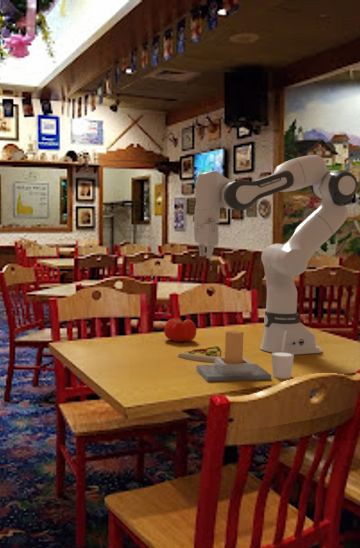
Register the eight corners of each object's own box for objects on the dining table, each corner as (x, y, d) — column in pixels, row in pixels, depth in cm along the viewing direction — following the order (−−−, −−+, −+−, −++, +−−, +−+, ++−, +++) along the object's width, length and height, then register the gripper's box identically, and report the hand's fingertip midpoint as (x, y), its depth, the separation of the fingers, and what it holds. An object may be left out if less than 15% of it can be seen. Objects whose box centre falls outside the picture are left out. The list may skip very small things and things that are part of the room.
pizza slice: (175, 359, 220) (175, 351, 220) (200, 348, 239) (201, 340, 239) (216, 365, 214) (217, 357, 213) (239, 354, 232) (240, 345, 232)
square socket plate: (256, 368, 209) (256, 354, 208) (271, 379, 195) (271, 365, 195) (196, 369, 205) (196, 355, 204) (207, 381, 191) (207, 366, 191)
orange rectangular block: (230, 367, 203) (232, 330, 201) (241, 369, 200) (243, 332, 199) (224, 370, 199) (225, 332, 198) (235, 372, 197) (236, 333, 196)
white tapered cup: (268, 373, 203) (269, 351, 203) (289, 373, 204) (290, 351, 203) (273, 378, 197) (274, 356, 196) (295, 379, 197) (296, 356, 196)
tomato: (156, 341, 247) (157, 319, 246) (175, 336, 257) (175, 315, 256) (184, 346, 240) (185, 323, 239) (202, 340, 250) (202, 319, 249)
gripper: (223, 218, 215) (222, 259, 217) (208, 217, 235) (207, 255, 237) (205, 218, 214) (204, 259, 215) (191, 217, 234) (190, 255, 235)
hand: (205, 257), depth 226 cm, fingers open, 8 cm apart
